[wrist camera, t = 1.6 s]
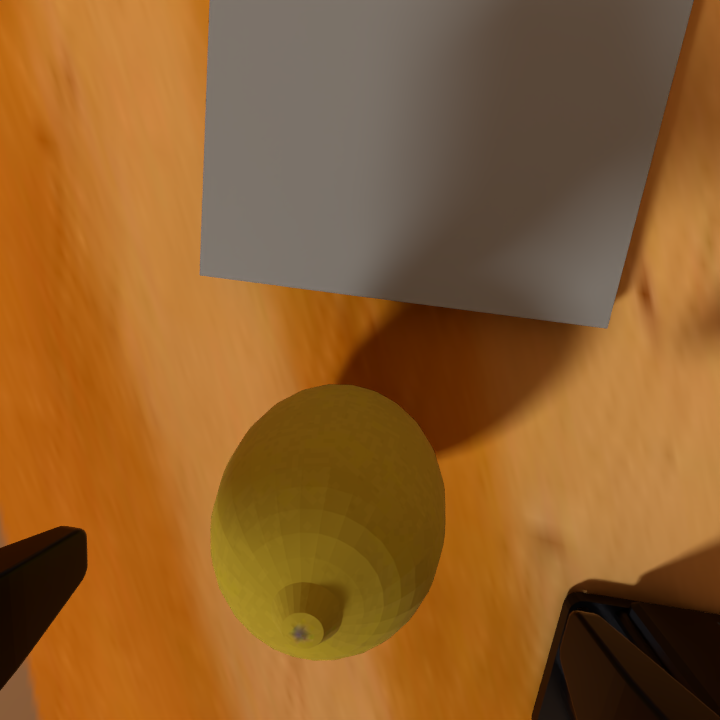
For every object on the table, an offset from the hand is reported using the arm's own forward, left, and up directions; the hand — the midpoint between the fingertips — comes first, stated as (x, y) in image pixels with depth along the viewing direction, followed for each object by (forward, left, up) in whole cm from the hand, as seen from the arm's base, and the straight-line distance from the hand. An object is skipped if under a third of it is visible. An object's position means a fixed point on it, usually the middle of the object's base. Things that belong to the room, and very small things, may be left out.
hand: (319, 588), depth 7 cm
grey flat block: (+12, -1, -7) cm, 14 cm away
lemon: (0, 0, -7) cm, 7 cm away
